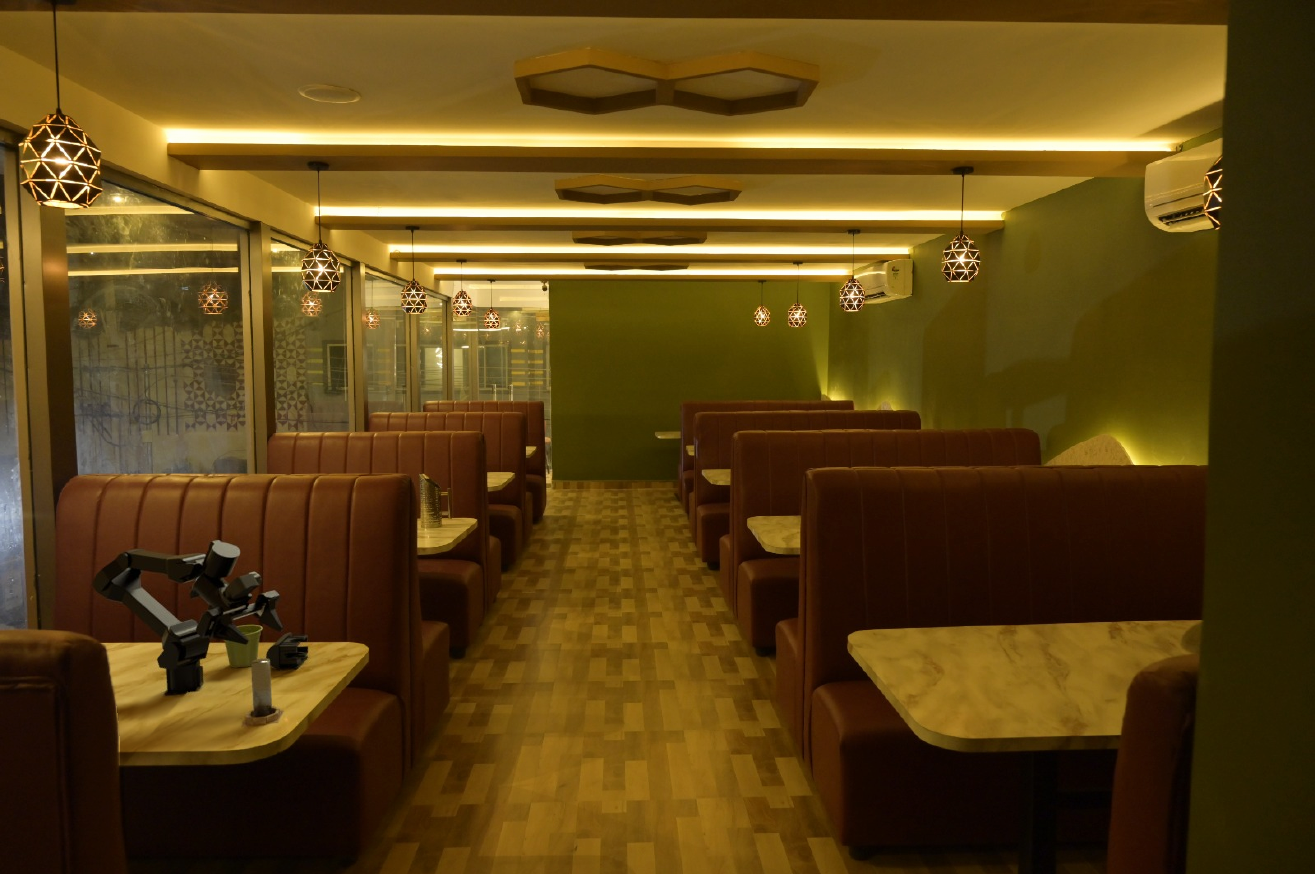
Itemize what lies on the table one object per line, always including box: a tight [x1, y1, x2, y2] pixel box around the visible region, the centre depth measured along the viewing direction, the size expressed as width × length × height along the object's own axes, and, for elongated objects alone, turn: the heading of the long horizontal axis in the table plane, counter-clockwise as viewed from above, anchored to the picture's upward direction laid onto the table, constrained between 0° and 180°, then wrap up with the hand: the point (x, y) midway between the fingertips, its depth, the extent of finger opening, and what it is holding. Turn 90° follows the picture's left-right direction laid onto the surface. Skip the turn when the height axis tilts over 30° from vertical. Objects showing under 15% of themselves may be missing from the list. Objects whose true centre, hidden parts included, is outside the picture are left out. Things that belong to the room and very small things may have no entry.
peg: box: [250, 657, 273, 718], centre depth 170 cm, size 4×4×12 cm
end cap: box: [265, 631, 309, 671], centre depth 206 cm, size 10×7×7 cm
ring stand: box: [241, 705, 285, 727], centre depth 171 cm, size 7×6×2 cm
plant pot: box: [223, 624, 263, 669], centre depth 206 cm, size 9×9×9 cm
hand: (265, 636), depth 180 cm, fingers open, 9 cm apart
